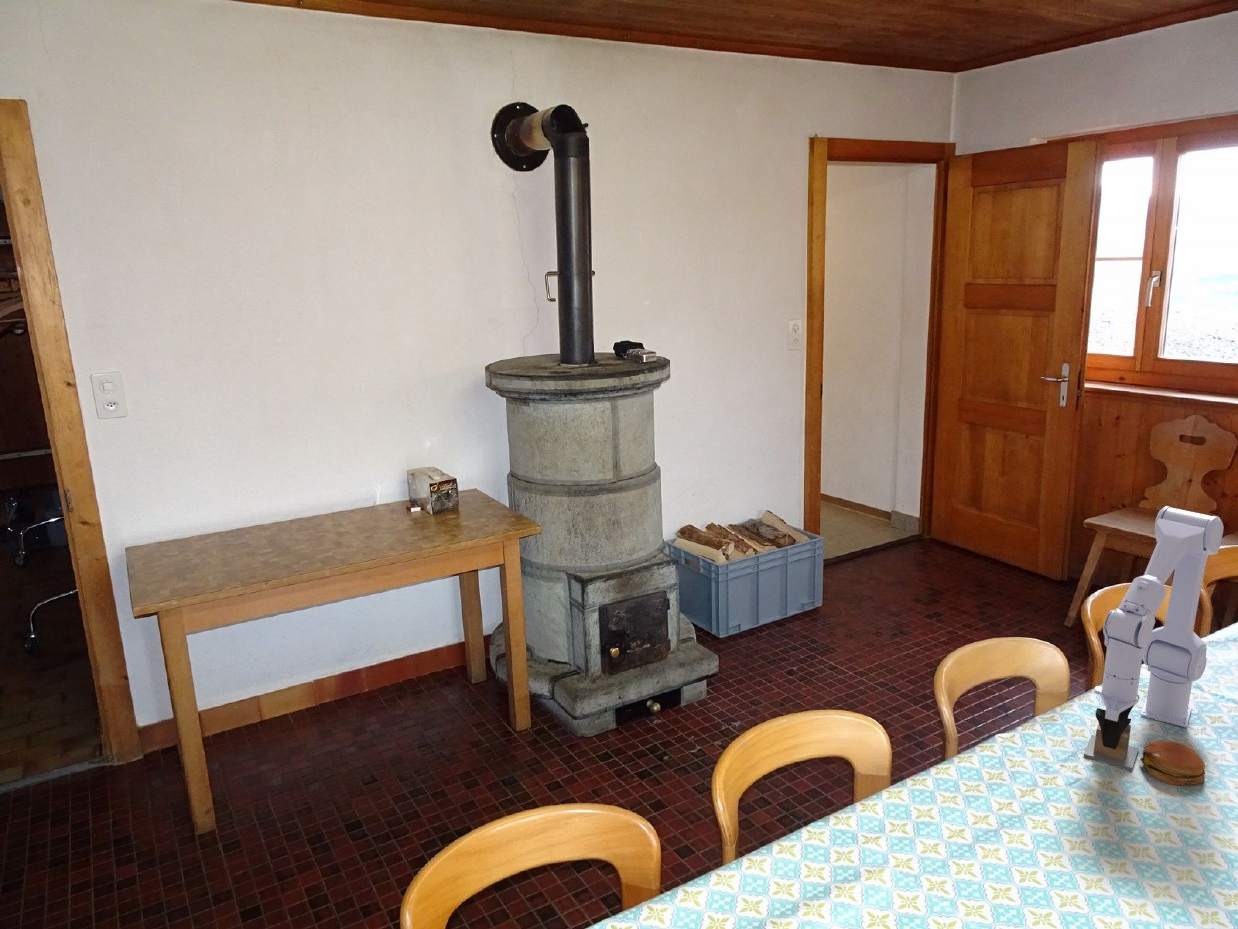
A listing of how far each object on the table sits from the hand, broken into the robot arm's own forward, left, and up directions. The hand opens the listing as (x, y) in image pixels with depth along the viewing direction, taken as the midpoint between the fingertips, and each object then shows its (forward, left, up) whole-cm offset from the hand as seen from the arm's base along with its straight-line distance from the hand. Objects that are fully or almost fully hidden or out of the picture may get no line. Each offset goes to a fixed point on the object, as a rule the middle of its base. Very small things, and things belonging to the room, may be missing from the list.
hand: (1113, 737), depth 164 cm
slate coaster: (0, 0, -3) cm, 3 cm away
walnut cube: (0, 0, -3) cm, 3 cm away
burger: (0, +10, -4) cm, 11 cm away
